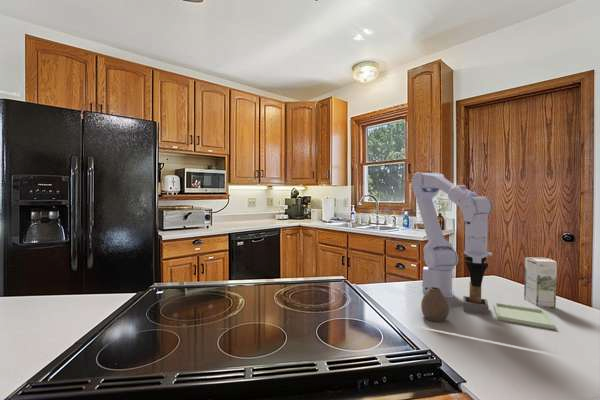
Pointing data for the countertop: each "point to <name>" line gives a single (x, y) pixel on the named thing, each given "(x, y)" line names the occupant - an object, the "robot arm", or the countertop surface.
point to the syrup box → (540, 281)
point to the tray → (523, 315)
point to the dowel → (475, 294)
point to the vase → (435, 305)
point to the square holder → (475, 306)
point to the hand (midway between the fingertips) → (475, 282)
